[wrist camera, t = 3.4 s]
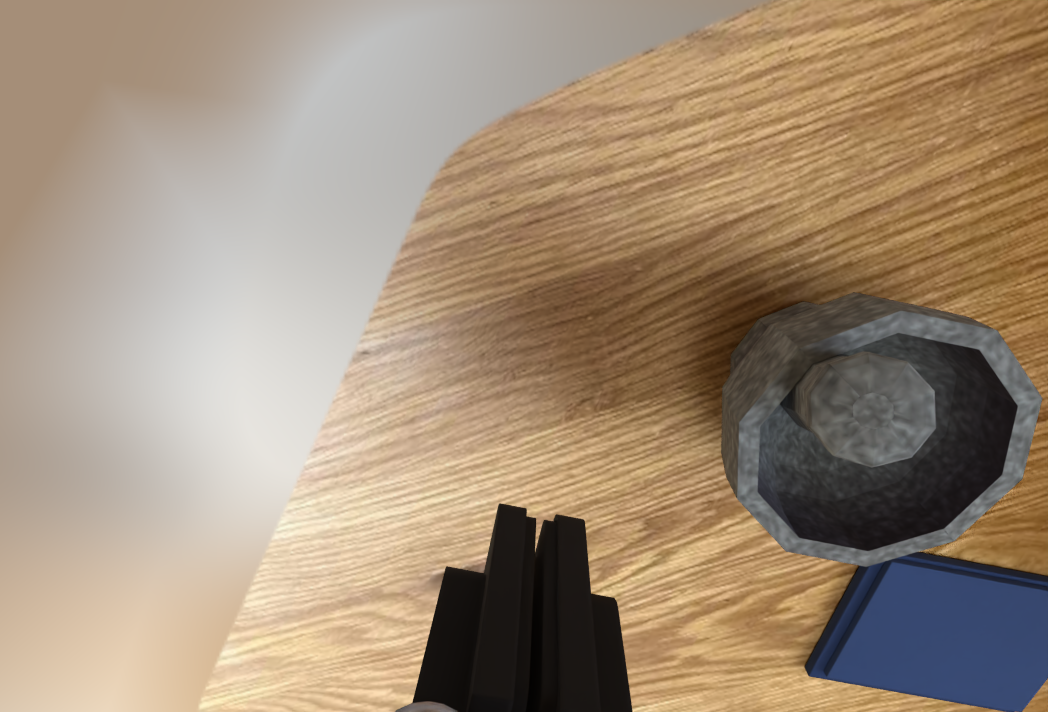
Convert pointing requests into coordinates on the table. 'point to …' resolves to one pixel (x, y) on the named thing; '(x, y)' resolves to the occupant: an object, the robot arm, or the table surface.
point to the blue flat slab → (940, 632)
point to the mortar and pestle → (873, 426)
